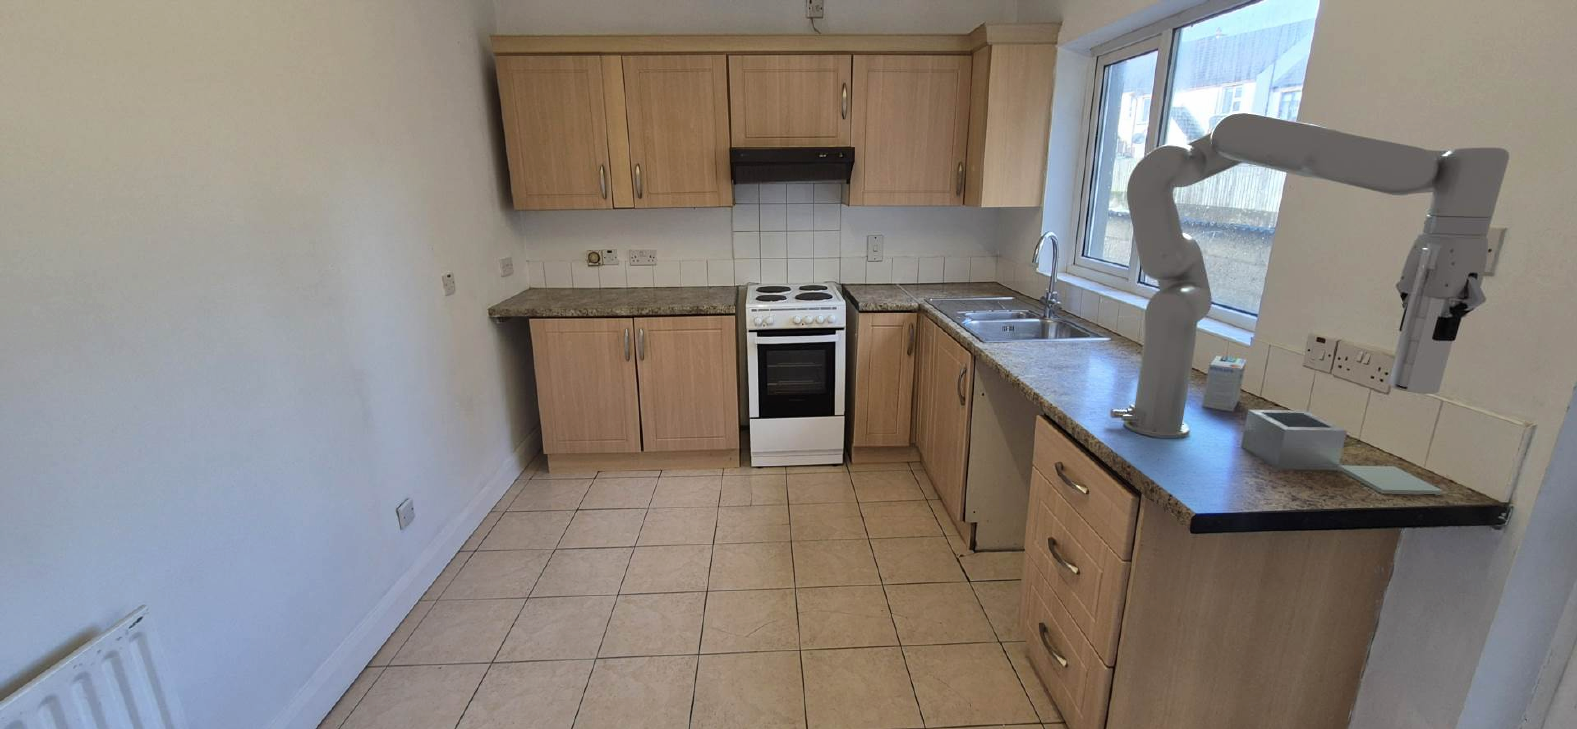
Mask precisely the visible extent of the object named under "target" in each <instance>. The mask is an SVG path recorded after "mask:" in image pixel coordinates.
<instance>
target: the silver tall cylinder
mask: <svg viewBox="0 0 1577 729" xmlns="http://www.w3.org/2000/svg"><path fill="white" fill-rule="evenodd" d="M1441 246H1442V245H1441V244H1432V243H1428V245H1427V248H1423V249H1422V253H1421V257H1420V261H1419V265H1418V269H1417V273H1416V277H1415V281H1414V285H1413V289H1412V293H1411V295H1410V299H1409V303H1408V307H1407V311H1406V314H1405V318H1404V322H1403V326H1402V330H1401V331H1400V335H1399V339H1398V342H1397V346H1396V351H1395V355H1394V357H1393V363H1392V367H1391V369H1390V374H1389V378H1388V382H1387V384H1388V386H1389V387H1390V388H1393V389H1396V390H1399V391H1403V392H1410V393H1412V394H1413V393H1414V394H1421V395H1422V394H1427V395H1432V394H1438V393H1439V391H1440V388H1441V385H1442V381H1443V378H1444V374H1445V371H1446V366H1447V363H1448V359H1449V355H1450V352H1451V348H1452V344H1453V342H1454V341H1435V340H1433V339H1432V338H1433V334H1434V331H1435V327H1436V323H1437V320H1438V316H1440V317H1443V314H1442V308H1443V305H1444V301H1445V299H1435V298H1432V297H1431V298H1429V297H1426V296H1424V295H1422V291H1423V287H1424V283H1425V279H1426V275H1427V272H1428V268H1429V269H1435V267H1434V264H1435V265H1436V263H1435V261H1436V258H1437V255H1438V253H1439V250H1440V248H1441ZM1461 297H1462V293H1459V294H1458V295H1457V296H1456V297H1451V298H1461ZM1458 304H1459V302H1452V308H1453V307H1455V306H1456V305H1458Z"/></svg>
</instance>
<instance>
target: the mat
mask: <svg viewBox="0 0 1577 729" xmlns="http://www.w3.org/2000/svg"><path fill="white" fill-rule="evenodd" d="M1337 471H1340V472H1342V473H1343V474H1345V475H1347V476H1349V477H1351V478H1353V479H1355V480H1356V481H1358V482H1360V483H1362V484H1363V485H1366V486H1367V487H1369V488H1371V489H1373V490H1374V491H1376V492H1378V493H1379V494H1383V495H1385V494H1386V495H1388V494H1389V495H1421V494H1435V495H1434V496H1442V495H1443V493H1444V490H1442V489H1441V488H1439V487H1437V486H1434V485H1433V484H1431V483H1429V482H1426V481H1425V480H1422V479H1421V478H1418V477H1416V476H1414V475H1412V474H1410V473H1409V472H1406V471H1404V470H1403V469H1400V468H1398V467H1396V466H1394V465H1393V466H1391V465H1390V466H1389V465H1388V466H1387V465H1384V466H1383V465H1342V464H1341V465H1340V464H1339V466H1338V470H1337Z"/></svg>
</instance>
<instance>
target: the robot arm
mask: <svg viewBox="0 0 1577 729" xmlns="http://www.w3.org/2000/svg"><path fill="white" fill-rule="evenodd" d="M1509 160H1510V153H1509V152H1508V150H1507V149H1505V148H1502V147H1466V148H1465V147H1464V148H1463V147H1462V148H1454V149H1451V150H1431V149H1425V148H1424V147H1423V148H1422V147H1418V146H1413V145H1408V144H1402V143H1396V142H1392V141H1385V140H1381V139H1375V138H1370V137H1365V136H1361V135H1355V134H1351V133H1346V132H1342V131H1339V130H1336V129H1334V128H1331V127H1325V126H1321V125H1318V124H1310V123H1304V122H1299V121H1294V120H1289V119H1285V118H1284V119H1283V118H1278V117H1273V116H1268V115H1262V114H1258V113H1252V112H1249V111H1248V112H1246V111H1240V112H1239V111H1238V112H1233V113H1229V114H1228V115H1226V116H1225V117H1223V118H1221V119H1220V120H1219V121H1218V123H1216V124H1215V126H1214V127H1213V129H1212V131H1211V132H1209V133H1207V134H1205V135H1203V136H1201V137H1199V138H1196V139H1194V140H1192V141H1190V142H1188V143H1186V144H1182V143H1167V144H1164V145H1161V146H1158V147H1156V148H1155V149H1153V150H1151V151H1150V152H1148V153H1147V154H1146V155H1145V156H1143V158H1142V159H1140V161H1139V162H1138V163H1137V164H1136V166H1134V169H1133V170H1132V172H1131V174H1130V176H1129V179H1128V181H1127V187H1126V200H1127V206H1128V211H1129V215H1130V220H1131V223H1132V230H1133V235H1134V239H1135V244H1136V248H1137V249H1136V250H1137V253H1138V258H1139V259H1138V260H1139V262H1140V264H1139V266H1140V267H1141V270H1142V272H1143V274H1145V276H1146V277H1148V278H1150V279H1151V280H1154V281H1157V286H1158V288H1159V290H1158V291H1156V292H1155V293H1154V294H1153V295H1152V296H1151V298H1150V299H1149V301H1148V303H1147V305H1146V308H1145V311H1144V334H1143V345H1142V351H1141V353H1142V354H1141V361H1140V365H1139V366H1140V367H1139V373H1138V380H1137V387H1136V393H1135V401H1134V404H1129V408H1128V407H1127V408H1125V409H1121V408H1120V409H1116V408H1115V409H1113V408H1111V409H1110V417H1111V418H1112V419H1121V421H1124V422H1123V424H1124V426H1125V427H1127V429H1129V430H1131V431H1133V432H1135V433H1137V434H1141V435H1144V436H1148V437H1153V438H1160V439H1182V438H1184V437H1188V435H1189V434H1190V428H1191V427H1190V426H1189V425H1188V424H1186V423H1184V422H1183V420H1184V416H1185V415H1184V414H1185V410H1186V409H1185V408H1186V404H1187V399H1188V397H1187V396H1188V392H1189V386H1190V380H1191V375H1192V370H1193V369H1192V368H1193V362H1194V361H1193V360H1194V354H1195V349H1196V337H1197V327H1198V323H1199V322H1200V321H1201V320H1203V319H1204V318H1205V317H1206V316H1207V315H1208V314H1209V313H1210V310H1211V308H1212V304H1213V301H1212V293H1211V287H1210V283H1209V278H1208V274H1207V269H1206V267H1205V266H1206V265H1205V262H1204V261H1205V260H1204V257H1203V252H1202V250H1201V247H1200V245H1199V244H1198V242H1197V241H1196V240H1195V238H1193V237H1192V236H1190V235H1189V234H1186V233H1184V232H1183V228H1182V225H1181V222H1180V216H1179V212H1178V208H1177V205H1176V202H1175V199H1174V190H1175V188H1185V187H1189V186H1193V185H1195V184H1198V183H1200V182H1202V181H1204V180H1206V179H1209V178H1211V177H1214V176H1215V175H1217V174H1221V173H1222V172H1224V171H1227V170H1229V169H1232V168H1234V167H1236V166H1238V165H1240V164H1243V163H1244V164H1248V165H1253V166H1256V167H1261V168H1265V169H1269V170H1275V171H1278V172H1283V173H1287V174H1291V175H1296V176H1300V177H1303V178H1313V179H1314V178H1315V179H1319V180H1326V181H1330V182H1335V183H1339V184H1343V185H1347V186H1352V187H1357V188H1361V189H1366V190H1369V191H1374V192H1378V193H1381V194H1382V193H1383V194H1387V195H1391V196H1407V195H1413V194H1416V195H1417V194H1423V193H1425V194H1426V193H1432V196H1431V199H1430V201H1429V205H1428V210H1427V214H1426V217H1425V221H1424V222H1423V229H1422V234H1421V233H1420V234H1418V235H1417V236H1416V238H1415V240H1414V242H1413V244H1412V245H1411V248H1410V250H1409V252H1408V255H1407V257H1406V260H1405V263H1404V264H1403V268H1402V270H1401V275H1400V278H1399V281H1398V282H1397V283H1396V284H1395V288H1396V289H1397V292H1398V293H1399V294H1400V295H1399V296H1400V298H1401V301H1402V303H1401V307H1402V309H1404V310H1403V315H1402V318H1401V321H1400V326H1399V329H1398V330H1399V332H1401V330H1402V326H1403V322H1404V318H1405V314H1406V311H1407V307H1408V303H1409V299H1410V295H1411V293H1412V289H1413V285H1414V281H1415V277H1416V273H1417V269H1418V265H1419V261H1420V257H1421V253H1422V249H1423V248H1427V245H1428V243H1432V244H1441V245H1442V246H1441V248H1440V250H1439V253H1438V255H1437V258H1436V261H1435V263H1436V265H1435V264H1434V267H1435V269H1429V268H1428V272H1427V275H1426V279H1425V283H1424V287H1423V291H1422V295H1424V296H1426V297H1429V298H1431V297H1432V298H1435V299H1445V301H1444V305H1443V308H1442V314H1443V317H1440V316H1438V320H1437V323H1436V327H1435V331H1434V334H1433V338H1432V339H1433V340H1435V341H1453V342H1454V341H1455V340H1456V338H1457V335H1458V332H1459V329H1460V325H1461V321H1462V319H1464V318H1466V317H1467V316H1468V314H1469V313H1470V312H1472V311H1474V310H1475V309H1476V308H1478V307H1480V306H1481V305H1483V304H1484V303H1486V301H1487V297H1486V296H1485V294H1484V292H1483V290H1482V288H1481V286H1482V284H1483V279H1484V277H1485V272H1486V266H1487V259H1488V250H1489V238H1488V237H1487V236H1488V233H1489V230H1490V226H1491V222H1492V220H1493V215H1494V212H1495V209H1496V205H1497V201H1498V198H1499V194H1500V192H1501V188H1502V183H1503V181H1504V178H1505V173H1506V171H1507V167H1508V163H1509ZM1459 293H1462V297H1461V298H1451V297H1456V296H1457V295H1458V294H1459ZM1452 302H1459V304H1458V305H1456V306H1455V307H1453V308H1452Z"/></svg>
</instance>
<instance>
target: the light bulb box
mask: <svg viewBox="0 0 1577 729" xmlns="http://www.w3.org/2000/svg"><path fill="white" fill-rule="evenodd" d="M1247 360H1248V359H1245V358H1237V357H1236V358H1235V357H1229V356H1222V355H1215V356H1214V357H1213V360H1212V361H1211V362H1210V364H1209V365H1208V369H1207V376H1206V381H1205V385H1204V386H1205V387H1204V392H1203V398H1202V403H1201V407H1203V408H1204V407H1205V408H1209V409H1211V408H1212V409H1217V410H1219V411H1220V410H1221V411H1226V410H1227V411H1226V412H1231V411H1232V413H1233V412H1234V410H1235V408H1236V406H1237V404H1238V403H1239V399H1240V393H1241V390H1242V385H1243V378H1244V376H1245V369H1246V364H1247Z"/></svg>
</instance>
